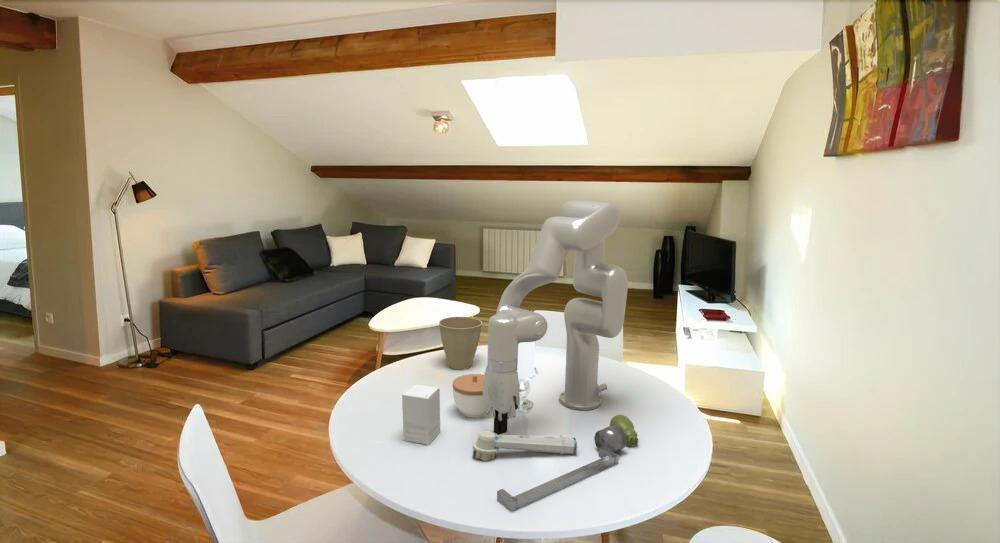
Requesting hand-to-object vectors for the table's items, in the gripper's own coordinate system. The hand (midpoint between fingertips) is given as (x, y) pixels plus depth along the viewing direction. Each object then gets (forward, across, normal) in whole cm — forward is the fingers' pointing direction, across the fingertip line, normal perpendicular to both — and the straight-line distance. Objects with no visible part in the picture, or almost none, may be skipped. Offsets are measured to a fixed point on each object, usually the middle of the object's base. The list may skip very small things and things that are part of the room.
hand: (500, 432), depth 138 cm
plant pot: (+2, -50, +20) cm, 54 cm away
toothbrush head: (+3, +9, +1) cm, 9 cm away
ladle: (+2, +21, +3) cm, 21 cm away
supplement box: (+3, -13, -16) cm, 20 cm away
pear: (+2, +18, +27) cm, 32 cm away
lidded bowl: (+2, -17, +4) cm, 18 cm away
